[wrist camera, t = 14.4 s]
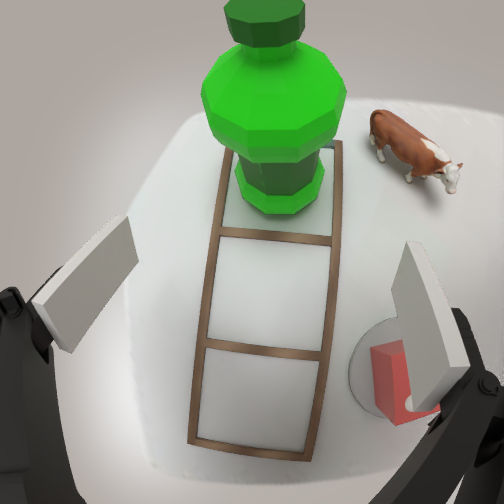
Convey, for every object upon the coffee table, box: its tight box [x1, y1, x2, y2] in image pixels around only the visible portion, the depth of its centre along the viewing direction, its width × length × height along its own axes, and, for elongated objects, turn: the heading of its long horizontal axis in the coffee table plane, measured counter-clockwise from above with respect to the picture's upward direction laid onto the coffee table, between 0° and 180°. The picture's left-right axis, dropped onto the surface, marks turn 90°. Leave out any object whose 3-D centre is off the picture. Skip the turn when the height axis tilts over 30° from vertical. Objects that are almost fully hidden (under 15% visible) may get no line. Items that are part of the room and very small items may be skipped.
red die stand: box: [349, 317, 440, 426], centre depth 26 cm, size 12×12×9 cm
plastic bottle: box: [201, 0, 347, 214], centre depth 24 cm, size 10×10×25 cm
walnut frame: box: [187, 140, 343, 462], centre depth 33 cm, size 15×40×1 cm, turn 173°
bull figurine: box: [370, 110, 463, 194], centre depth 30 cm, size 4×13×8 cm, turn 42°
